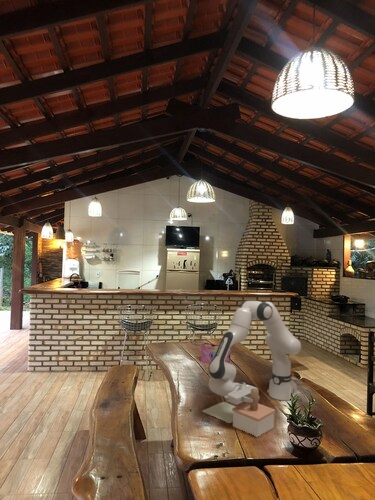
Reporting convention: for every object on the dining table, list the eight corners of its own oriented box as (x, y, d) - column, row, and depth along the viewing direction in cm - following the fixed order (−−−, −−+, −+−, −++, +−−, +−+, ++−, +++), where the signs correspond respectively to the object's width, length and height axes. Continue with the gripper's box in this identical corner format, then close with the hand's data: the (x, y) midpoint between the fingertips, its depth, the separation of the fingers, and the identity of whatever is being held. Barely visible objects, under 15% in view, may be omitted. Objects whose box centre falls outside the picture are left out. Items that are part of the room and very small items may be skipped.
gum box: (231, 364, 299) (232, 347, 298) (227, 367, 292) (228, 349, 292) (204, 359, 310) (205, 342, 310) (200, 361, 303) (201, 344, 303)
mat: (223, 402, 225) (223, 401, 225) (250, 413, 212) (250, 412, 212) (202, 411, 211) (202, 410, 211) (229, 423, 198) (229, 422, 198)
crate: (249, 417, 206) (250, 403, 206) (273, 427, 196) (274, 412, 196) (232, 426, 195) (233, 410, 195) (257, 437, 185) (258, 421, 185)
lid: (249, 405, 207) (250, 382, 207) (275, 415, 196) (276, 390, 195) (231, 413, 195) (232, 389, 195) (258, 424, 184) (259, 398, 184)
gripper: (222, 390, 197) (244, 398, 187) (245, 381, 212) (266, 388, 202) (221, 402, 197) (243, 411, 187) (244, 392, 212) (266, 400, 202)
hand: (255, 399), depth 195 cm, fingers closed on lid, 4 cm apart
